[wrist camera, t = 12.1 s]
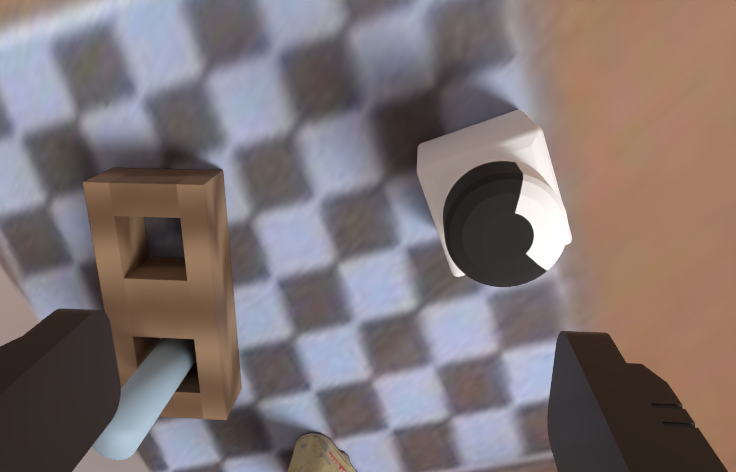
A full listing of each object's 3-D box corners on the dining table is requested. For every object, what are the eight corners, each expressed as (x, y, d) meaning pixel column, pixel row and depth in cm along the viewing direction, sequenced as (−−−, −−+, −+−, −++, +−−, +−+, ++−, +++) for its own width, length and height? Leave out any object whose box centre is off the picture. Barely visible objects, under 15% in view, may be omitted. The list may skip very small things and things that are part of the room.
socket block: (113, 167, 42) (82, 182, 38) (223, 170, 41) (203, 185, 37) (145, 383, 48) (122, 414, 44) (241, 388, 47) (226, 420, 43)
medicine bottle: (448, 238, 41) (458, 319, 30) (416, 143, 39) (413, 192, 28) (549, 207, 40) (599, 279, 29) (520, 107, 38) (562, 143, 27)
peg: (167, 319, 46) (84, 417, 34) (204, 321, 45) (133, 419, 34) (171, 353, 47) (92, 458, 35) (208, 354, 46) (140, 461, 35)
